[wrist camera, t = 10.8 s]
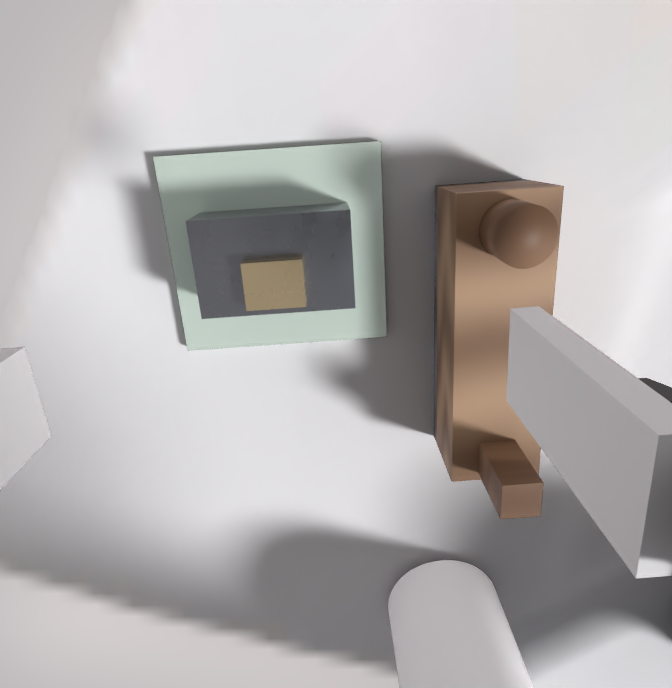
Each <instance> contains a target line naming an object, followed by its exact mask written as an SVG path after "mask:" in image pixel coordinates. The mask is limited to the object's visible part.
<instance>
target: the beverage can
mask: <svg viewBox="0 0 672 688" xmlns="http://www.w3.org/2000/svg"><path fill="white" fill-rule="evenodd" d="M388 611H389V618H390V625H391V632H392V639H393V645H394V652H395V659H396V666H397V673H398V680H399V687H400V688H534V687H533V684H532V682H531V679H530V677H529V674H528V672H527V669H526V667H525V664H524V661H523V659H522V656H521V654H520V651H519V649H518V646H517V644H516V641H515V639H514V636H513V633H512V631H511V628H510V626H509V623H508V621H507V618H506V616H505V613H504V611H503V608H502V605H501V603H500V600H499V598H498V595H497V593H496V590H495V588H494V585H493V583H492V581H491V580H490V579H489V577H488V576H487V575H486V574H485V573H484V572H483V571H481V570H480V569H478V568H477V567H475V566H473V565H471V564H468V563H465V562H461V561H455V560H439V561H433V562H429V563H425V564H422V565H420V566H418V567H416V568H414V569H412V570H410V571H409V572H407V573H406V574H405V575H404V576H402V577H401V578H400V579H399V581H398V582H397V583H396V584H395V586H394V587H393V589H392V591H391V594H390V597H389V601H388Z"/></svg>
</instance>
